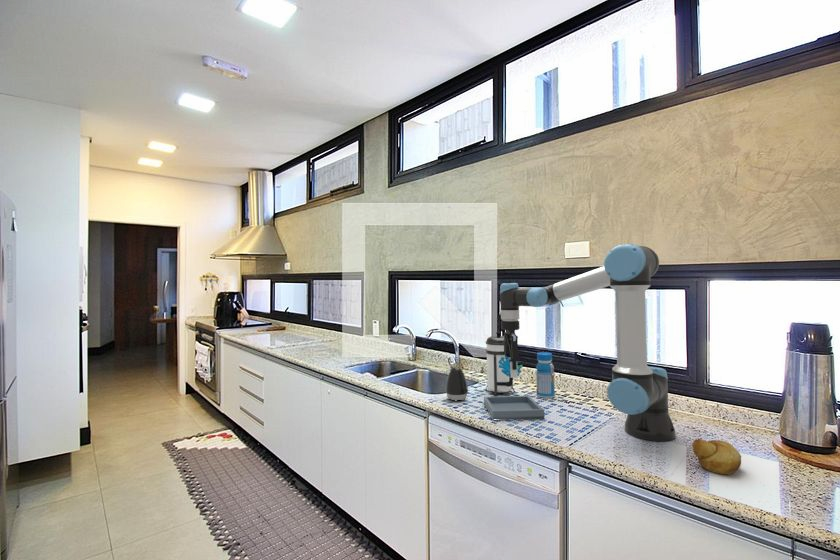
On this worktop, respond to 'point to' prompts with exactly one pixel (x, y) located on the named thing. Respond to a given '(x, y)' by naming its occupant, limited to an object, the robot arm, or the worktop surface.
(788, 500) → the worktop surface
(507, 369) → the gear
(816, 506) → the worktop surface
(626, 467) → the worktop surface
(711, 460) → the bread roll
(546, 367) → the beverage bottle
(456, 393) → the pump dispenser
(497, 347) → the coffee press
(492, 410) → the tray
